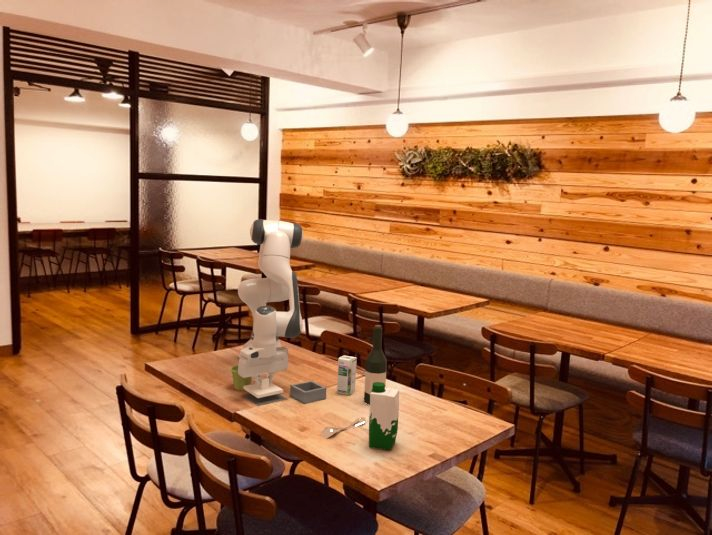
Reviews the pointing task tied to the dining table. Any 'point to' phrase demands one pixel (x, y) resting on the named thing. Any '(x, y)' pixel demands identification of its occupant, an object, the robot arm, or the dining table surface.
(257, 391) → the lid
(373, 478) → the dining table surface
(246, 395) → the coaster
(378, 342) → the wine bottle
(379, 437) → the milk carton
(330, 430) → the silver spoon
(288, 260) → the robot arm
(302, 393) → the dish
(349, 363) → the syrup box
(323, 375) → the dining table surface
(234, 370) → the plant pot
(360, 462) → the dining table surface
